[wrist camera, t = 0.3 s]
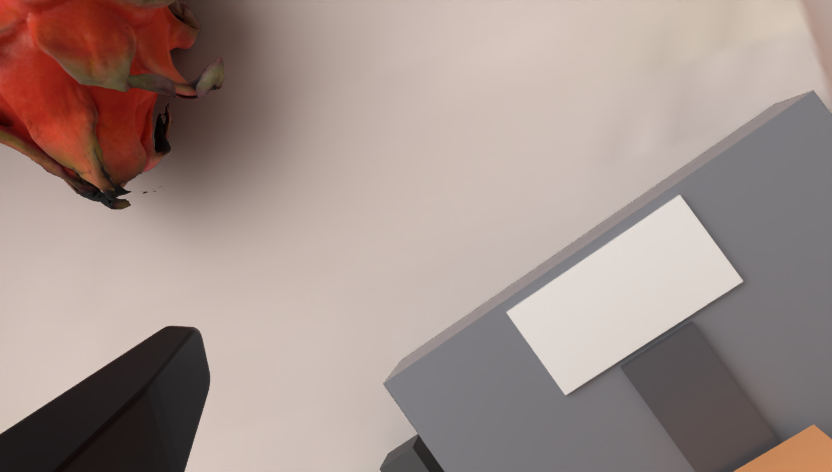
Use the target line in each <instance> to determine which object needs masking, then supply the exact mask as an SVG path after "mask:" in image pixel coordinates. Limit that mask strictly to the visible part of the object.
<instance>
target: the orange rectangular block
mask: <svg viewBox="0 0 832 472" xmlns="http://www.w3.org/2000/svg"><path fill="white" fill-rule="evenodd" d="M734 472H832V439H831V438H830V437H828V436H827V435H826V434H825V433H824V432H822V431H821V430H820V429H819V428H818V427H816V426H815V425H814V424H813V425H812V426H810V427H808V428H807V429H805V430H803V431H802V432H800V433H798V434H796V435H795V436H793V437H791V438H790V439H788V440H786V441H785V442H783V443H781V444H779V445H778V446H776V447H774V448H773V449H771V450H769V451H768V452H766V453H764V454H762V455H761V456H759V457H757V458H756V459H754V460H752V461H751V462H749V463H747V464H745V465H744V466H742V467H740V468H739V469H737V470H735V471H734Z"/></svg>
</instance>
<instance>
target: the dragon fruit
mask: <svg viewBox="0 0 832 472" xmlns="http://www.w3.org/2000/svg"><path fill="white" fill-rule="evenodd" d="M199 31H200V24H199V21H198V20H197V19H196V18H195V17H194V16H193V15H192V13H191V10H190V8H189V7H188V5H187V4H186V3H185V2H184V1H183V0H0V143H2V144H5V145H7V146H9V147H12V148H14V149H16V150H18V151H19V152H21V153H22V154H25V155H26V156H28V157H29V158H31V159H32V160H34V162H36V163H37V164H39V165H41V166H42V167H43V168H44V169H45V170H46V171H47V172H49V173H51V174H53V175H55V176H58V177H60V178H62V179H64V181H65V182H66V183H67V184H68V185H69V186H70V187H71V188H72V189H73V190H74V191H75V192H76V193H77V194H80V195H81V196H83V197H85V198H88V199H90V200H93V201H97V202H101V203H103V204H104V205H105V206H107V207H109V208H110V209H124V208H126V207H128V206H130V205H131V204H130V203H129V201H127V200H126V199H118V198H116V197H118V196H121V195H125V194H128V193H130V192H131V191H127V190H125V189H123V187H124V186H125V185H126V184H127V182H128V181H130V180H132V179H133V178H135V177H136V176H137V175H139V174H142V172H146V171H148V170H150V169H152V168H153V167H154V166H155V165H156V164H157V163H158V162H159V161H160V160H161V159H162V158H163V157H164V156H165V155H166V154H168V153H169V152H170V150H171V147H170V145H169V142H168V140H167V139H168V136H169V129H170V124H171V122H173V121H171V116H170V111H169V103H168V104H167V105H166V109H165V114H163V115H165V117H166V120H165V123H164V124H163V120H162V118H161V115H162V114H160V113H159V115H158V118H157V122H156V127H155V132H154V139H155V147H154V145H153V140H152V133H153V123H152V116H153V109H154V105H155V102H156V100H157V97H158V94H162V95H166V96H172V97H176V96H177V97H180V98H183V99H195V98H202V97H204V96H205V95H207V94H208V92H209V91H210V90H216V89H220V88H221V86H222V84H223V74H224V64H223V60H222V58H221V57H219V58H218V59H217V60H216V61H214V62H213V63H212V64H211V65H208V66H207V68H206V69H205V70H204V71H203V73H202V74H201V75H200V77H199V78H198V79H196V80H195V81H193V82H189V83H187V82H186V80H185V79H184V78H183V77H182V76H181V75H180V74H179V72H178V71H177V70H176V68H175V67H174V65H173V63H172V60H171V56H170V52H169V51H170V50H172V49H174V48H176V47H178V48H181V49H188V48H190V47H191V46H192V45H193V44H194V42H195V40H196V37H197V35H198V33H199ZM161 187H162V186H161ZM159 188H160V187H159ZM100 190H102V191H103V192H104V193H103V192H101V191H100ZM154 192H155V191H154ZM144 193H148V192H144ZM144 193H143V194H144Z"/></svg>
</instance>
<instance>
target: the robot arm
mask: <svg viewBox="0 0 832 472" xmlns="http://www.w3.org/2000/svg"><path fill="white" fill-rule="evenodd" d="M209 386H210V371H209V367H208V362H207V357H206V353H205V348H204V344H203V339H202V335H201V333H200V331H199V330H198V329H197V328H195V327H185V326H167V327H165V328H163V329H161V330H160V331H158V332H157V333H155V334H153V335H152V336H150V337H149V338H147V339H146V340H144V341H143V342H141V343H140V344H138V345H137V346H135V347H134V348H132V349H130V350H129V351H127V352H126V353H124V354H123V355H121V356H120V357H118V358H117V359H115V360H114V361H112V362H110V363H109V364H107V365H106V366H104V367H103V368H101V369H100V370H98V371H97V372H95V373H94V374H92V375H90V376H89V377H87V378H86V379H84V380H83V381H81V382H80V383H78V384H77V385H75V386H74V387H72V388H70V389H69V390H67V391H66V392H64V393H63V394H61V395H60V396H58V397H57V398H55V399H54V400H52V401H51V402H49V403H47V404H46V405H44V406H43V407H41V408H40V409H38V410H37V411H35V412H34V413H32V414H31V415H29V416H27V417H26V418H24V419H23V420H21V421H20V422H18V423H17V424H15V425H14V426H12V427H11V428H9V429H7V430H6V431H4V432H3V433H1V434H0V472H185V468H186V465H187V462H188V458H189V455H190V452H191V448H192V445H193V442H194V438H195V435H196V432H197V428H198V425H199V422H200V418H201V415H202V411H203V408H204V405H205V401H206V398H207V395H208V391H209Z"/></svg>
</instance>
